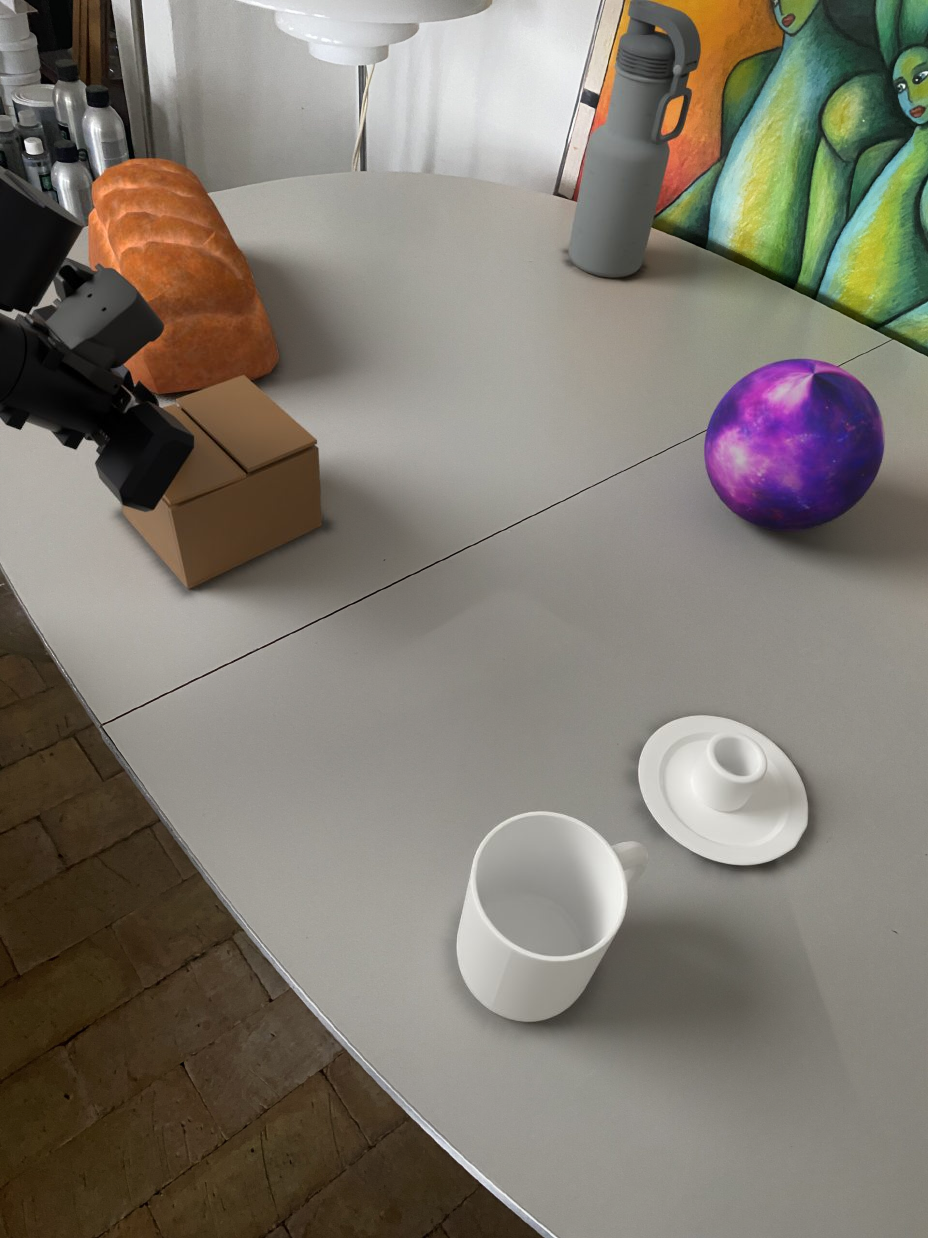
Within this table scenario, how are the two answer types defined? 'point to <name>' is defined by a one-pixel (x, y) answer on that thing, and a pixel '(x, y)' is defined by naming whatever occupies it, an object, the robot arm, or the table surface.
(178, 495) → the flap
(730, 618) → the table surface
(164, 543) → the carton
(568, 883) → the mug
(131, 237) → the bread
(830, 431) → the decorative orb
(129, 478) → the robot arm
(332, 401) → the table surface
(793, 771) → the candle holder
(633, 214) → the water bottle
